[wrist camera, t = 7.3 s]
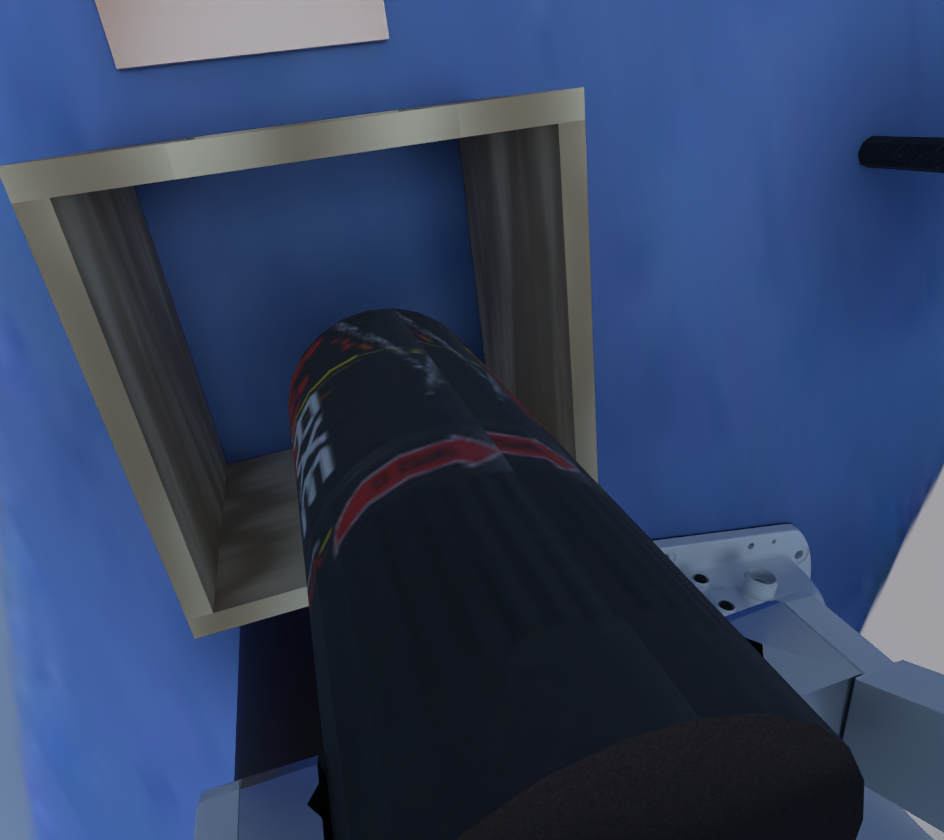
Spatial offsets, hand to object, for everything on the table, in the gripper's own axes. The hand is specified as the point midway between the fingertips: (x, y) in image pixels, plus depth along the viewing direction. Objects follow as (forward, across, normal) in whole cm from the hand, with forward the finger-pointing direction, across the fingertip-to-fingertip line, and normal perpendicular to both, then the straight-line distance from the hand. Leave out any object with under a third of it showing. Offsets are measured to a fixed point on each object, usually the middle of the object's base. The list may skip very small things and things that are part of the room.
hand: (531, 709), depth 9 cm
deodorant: (+12, 0, 0) cm, 12 cm away
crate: (+29, 0, +1) cm, 29 cm away
